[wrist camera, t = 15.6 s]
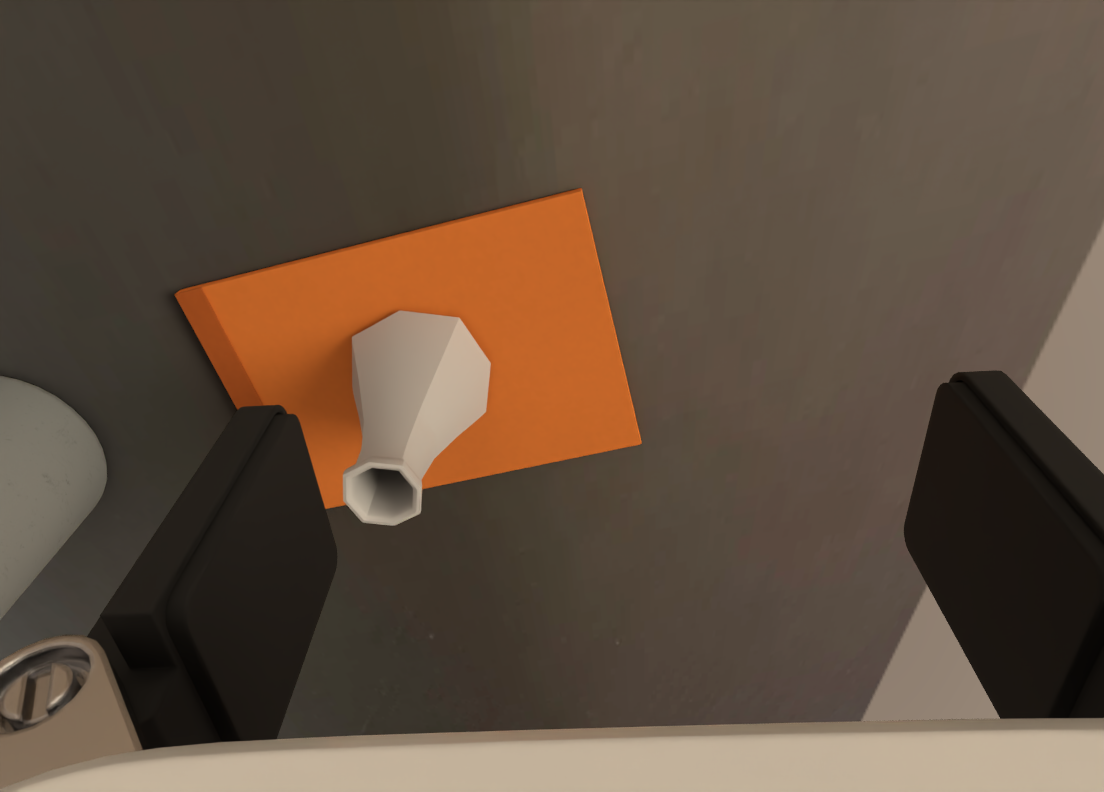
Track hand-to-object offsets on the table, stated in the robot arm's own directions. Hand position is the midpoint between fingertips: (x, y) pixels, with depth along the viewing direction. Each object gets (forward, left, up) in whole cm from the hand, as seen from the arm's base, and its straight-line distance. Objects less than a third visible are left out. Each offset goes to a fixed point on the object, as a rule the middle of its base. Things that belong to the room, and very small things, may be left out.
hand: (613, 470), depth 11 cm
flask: (+9, -10, -25) cm, 28 cm away
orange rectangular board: (+9, -10, -25) cm, 29 cm away
